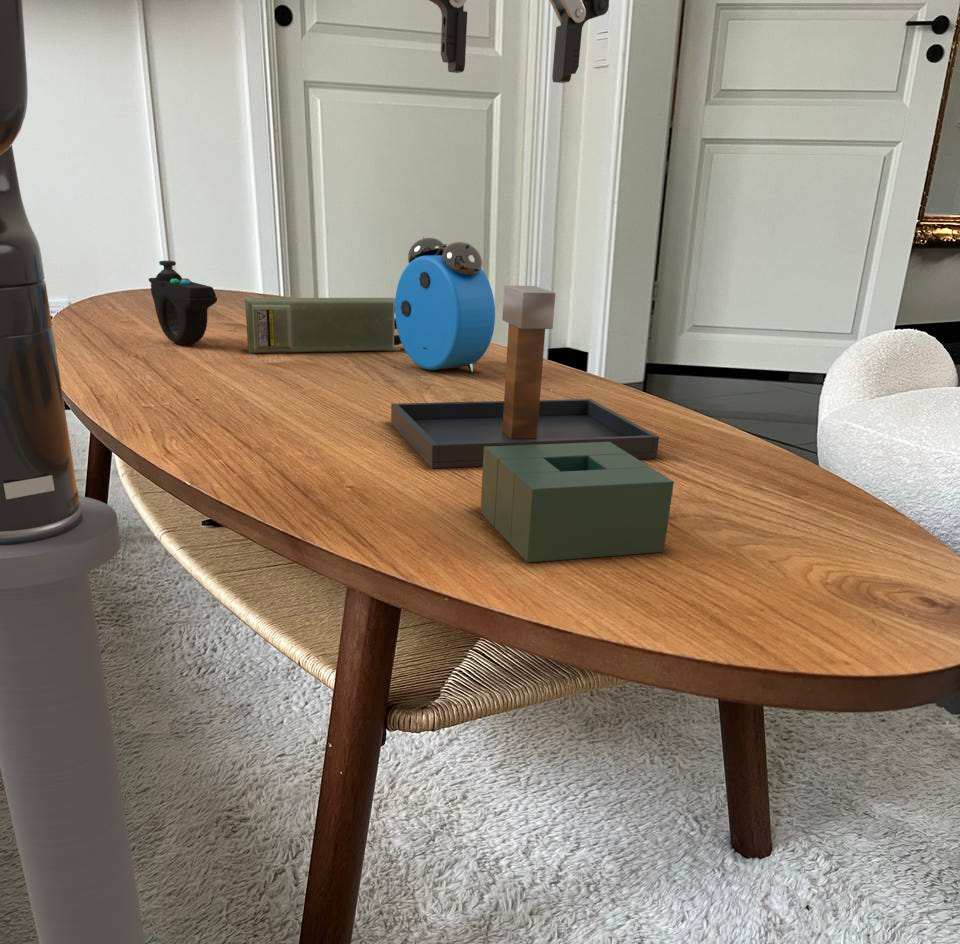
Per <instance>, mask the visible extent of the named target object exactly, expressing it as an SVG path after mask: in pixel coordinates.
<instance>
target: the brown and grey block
mask: <svg viewBox="0 0 960 944" xmlns="http://www.w3.org/2000/svg"><path fill="white" fill-rule="evenodd" d="M555 305H556V292H553V291H551V290H548V289H544V288H542V287H540V286H537V285H509V284H508V285H504V286H503V301H502V318H501V319H502V321H504V322H506V323H507V324H508V328H507V343H506V363H505V364H506V365H505V380H504V393H503V395H504V396H503V397H504V398H503V401H504V411H503V428H502V432H503V433H504V434H506V435H507V436H508V437H509V438H511V439H527V438H537V431H538V418H539V405H540V400H541V392H542V391H541V389H542V377H543V364H544V350H545V341H546V340H545V338H546V330H553V328H554V317H555Z"/></svg>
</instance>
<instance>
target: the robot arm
mask: <svg viewBox="0 0 960 944" xmlns="http://www.w3.org/2000/svg"><path fill="white" fill-rule="evenodd" d="M428 1H429V2H431V3H433V4H435V5H436V6H437V7H438V8H439V10H440V13H441V31H440V32H441V34H440V56H441V61H442V63H446V64H447V71H448V73H455V74H459V73H463V72H464V71H465V68H466V54H467V53H466V51H467V31H468V29H467V28H468V11H467V10H466V11H465V10H464V8H465V3H466V2H467V0H428ZM548 1H549V2H550V4H551V7H552V9H553V10H554V13H555V15H556V17H557V19H558V21H559V23H560V25H557V26H555V28H556V29H555V39H554V51H553V63H552V74H551V75H552V77H551V79H552V82H553V83H556V84H557V83H558V84H565V83H570V81H571V79H572V75H576V74H577V71H578V68H579V66H580V56H581V55H580V54H581V44H582V34H583V33H582V32H583V27H584V25H585V24H586V22H587V21H589V20H592V19H595V18H597V17H600V16H603V15H606V14H607V13H608V11H609V8H610V7H609V6H610V0H548ZM23 3H24V2H23V0H0V545H8V544H20V543H28V542H34V541H39V540H44V539H47V538H51V537H55V536H58V535H60V534H63V533H65V532H68V531H70V530H72V529H73V528H75V527H76V526H78V525H79V524H80V523H81V521H82V519H83V516H82V510H81V504H80V502H79V496H80V495H79V489H78V487H77V480H76V475H75V467H74V466H75V465H74V460H73V454H72V447H71V440H70V434H69V427H68V420H67V414H66V407H65V401H64V394H63V388H62V381H61V375H60V368H59V362H58V355H57V349H56V348H57V347H56V341H55V335H54V328H53V323H52V322H53V321H52V316H51V310H50V309H51V308H50V304H49V297H48V290H47V283H46V281H45V270H44V263H43V257H42V251H41V246H40V243H39V241H38V238H37V236H36V234H35V232H34V230H33V227H32V225H31V223H30V220H29V218H28V215H27V212H26V209H25V205H24V202H23V198H22V193H21V189H20V183H19V177H18V171H17V167H16V161H15V160H16V159H15V154H14V147H13V145H14V143H15V141H16V140H17V137H18V136H19V135H20V133H21V130H22V128H23V125H24V122H25V119H26V115H27V109H28V91H29V88H28V69H27V68H28V67H27V52H26V40H25V39H26V37H25V24H24V22H25V21H24V20H25V19H24V4H23Z"/></svg>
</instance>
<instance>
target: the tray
mask: <svg viewBox="0 0 960 944" xmlns="http://www.w3.org/2000/svg"><path fill="white" fill-rule="evenodd" d="M390 405H391V406H390V410H391V411H390V413H391V414H390V424H391V426H392V427H393V428H394V429H395V430H396V431H397V432H398V433H399V435H401V436H402V437H403V439H404V440H405V441H406V442H407V443H408V444H409V445H410V446H411V447H412V448H413V450H414V451H416V453H417V454H418V455H419V456H420V458H422V460H424V462H426V464H427V465H428V466H429V467H430V468H431V469H451V468H470V467H471V468H473V467H483V452H484V447H487V446H513V445H539V444H564V443H590V442H611V443H612V444H614V445H616V446H617V447H619V448H620V449H622V450H624V451H625V452H627V453H628V454H630V455H632V456H633V457H635V458H636V459H638V460H645V459H646V460H647V459H648V460H649V459H657V457H658V450H659V441H660V436H659V435H657V434H656V433H653V432H651V431H650V430H648V429H646V428H644V427H642V426H640V425H638V424H637V423H636V422H633V421H631V420H630V419H628V418H626V417H624V416H622V415H621V414H619V413H617V412H616V411H614V410H612V409H610V408H609V407H606V406H605V405H603V404H601V403H600V402H597V401H596V400H594V399H592V398H569V399H567V398H565V399H540V405H539V418H538V431H537V438H527V439H511V438H509V437H508V436H507V435H506V434H504V433H503V432H502V428H503V411H504V400H488V401H486V400H485V401H483V400H482V401H444V402H443V401H441V402H402V403H391V404H390Z"/></svg>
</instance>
